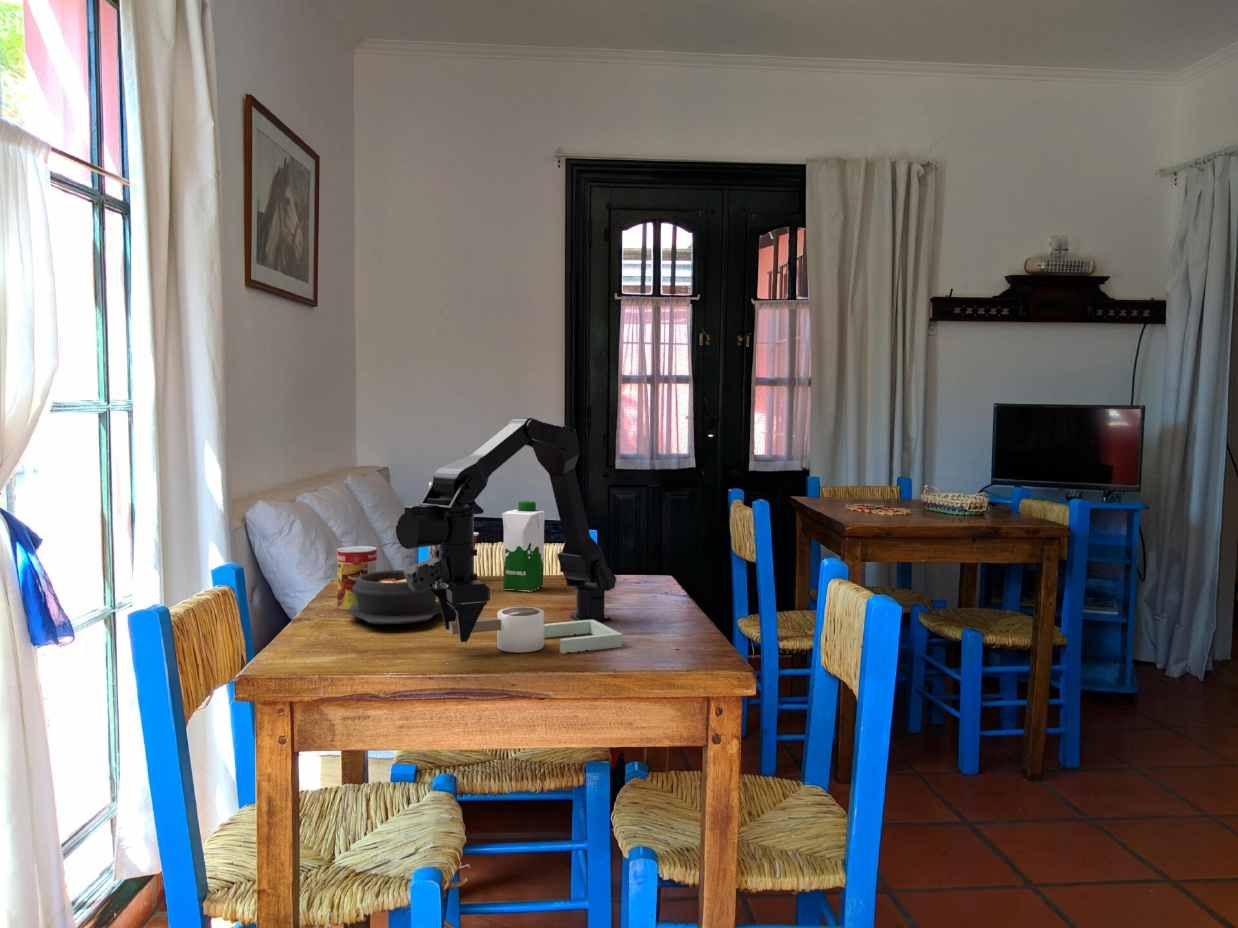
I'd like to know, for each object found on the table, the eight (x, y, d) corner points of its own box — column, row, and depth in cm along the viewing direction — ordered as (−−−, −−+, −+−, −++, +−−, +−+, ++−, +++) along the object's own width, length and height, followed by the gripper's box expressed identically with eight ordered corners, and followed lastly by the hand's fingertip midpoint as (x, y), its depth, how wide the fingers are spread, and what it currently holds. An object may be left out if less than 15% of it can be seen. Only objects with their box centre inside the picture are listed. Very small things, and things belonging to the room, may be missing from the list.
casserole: (451, 630, 166) (451, 585, 166) (347, 636, 161) (346, 590, 160) (438, 603, 190) (438, 564, 190) (347, 607, 185) (347, 567, 184)
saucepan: (534, 640, 159) (534, 604, 159) (550, 651, 152) (550, 613, 152) (444, 649, 152) (444, 612, 152) (456, 661, 145) (457, 622, 145)
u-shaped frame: (536, 636, 161) (536, 624, 161) (593, 630, 166) (593, 619, 166) (562, 653, 150) (562, 640, 150) (622, 646, 155) (622, 634, 155)
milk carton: (547, 586, 210) (548, 501, 209) (533, 593, 201) (533, 505, 200) (513, 584, 212) (513, 500, 211) (497, 591, 203) (497, 503, 202)
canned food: (342, 601, 190) (341, 546, 189) (379, 601, 191) (379, 545, 190) (333, 609, 182) (333, 551, 182) (373, 609, 183) (373, 551, 182)
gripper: (395, 537, 153) (395, 627, 154) (421, 553, 136) (421, 654, 137) (459, 534, 158) (459, 622, 159) (491, 549, 141) (491, 646, 142)
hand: (456, 635), depth 149 cm, fingers open, 9 cm apart
